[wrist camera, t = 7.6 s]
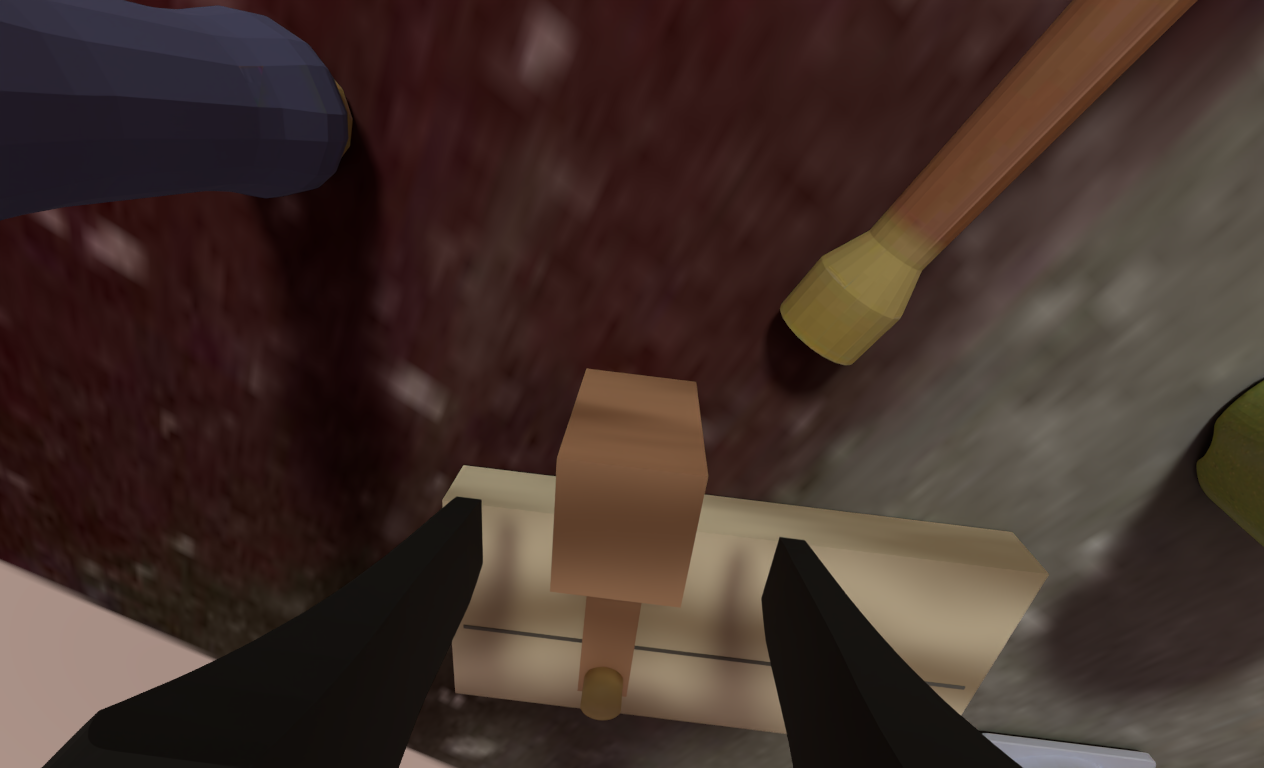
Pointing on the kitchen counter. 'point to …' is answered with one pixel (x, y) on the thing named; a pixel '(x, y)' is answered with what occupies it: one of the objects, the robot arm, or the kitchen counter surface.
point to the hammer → (971, 172)
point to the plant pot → (1238, 463)
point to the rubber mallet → (159, 105)
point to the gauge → (625, 516)
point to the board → (734, 604)
